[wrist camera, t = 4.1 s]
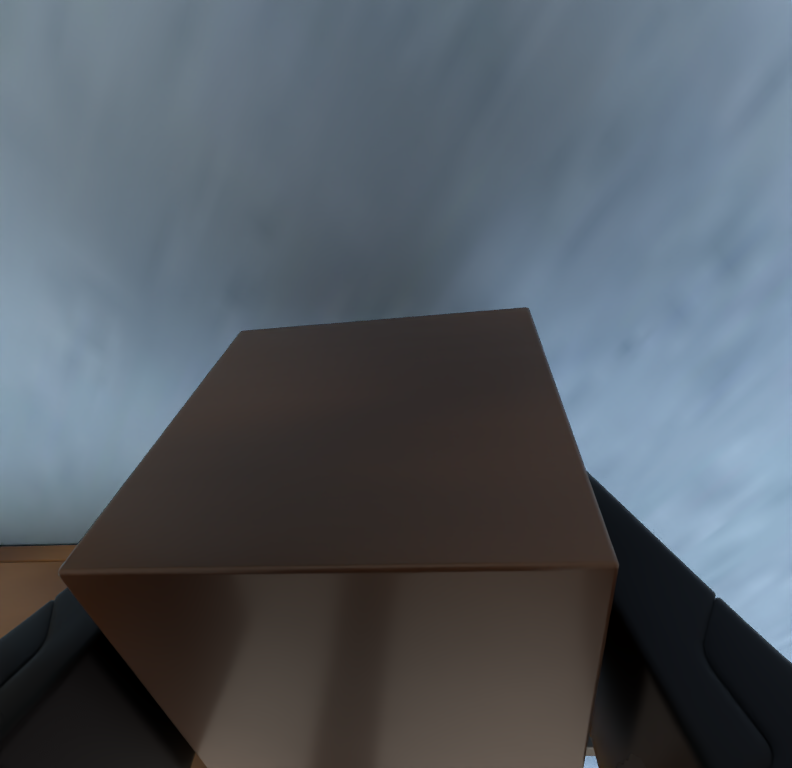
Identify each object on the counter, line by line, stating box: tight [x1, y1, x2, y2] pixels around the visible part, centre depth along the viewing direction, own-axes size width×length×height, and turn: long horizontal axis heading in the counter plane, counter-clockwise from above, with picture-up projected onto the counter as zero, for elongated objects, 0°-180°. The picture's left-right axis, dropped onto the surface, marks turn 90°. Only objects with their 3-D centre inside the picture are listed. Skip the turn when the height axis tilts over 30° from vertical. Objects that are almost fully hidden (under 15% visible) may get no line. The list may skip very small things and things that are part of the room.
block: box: [58, 307, 619, 768], centre depth 8 cm, size 5×5×5 cm
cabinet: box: [0, 545, 207, 768], centre depth 20 cm, size 14×14×9 cm
